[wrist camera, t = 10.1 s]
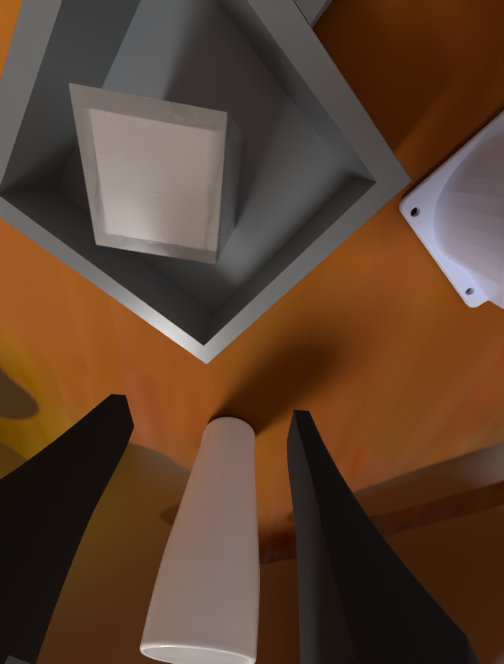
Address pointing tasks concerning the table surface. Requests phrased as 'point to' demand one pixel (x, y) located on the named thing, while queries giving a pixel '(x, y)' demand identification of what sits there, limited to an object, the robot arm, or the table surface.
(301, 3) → the base
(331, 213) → the bin
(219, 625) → the drinking glass
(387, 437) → the table surface
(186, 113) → the light grey block
